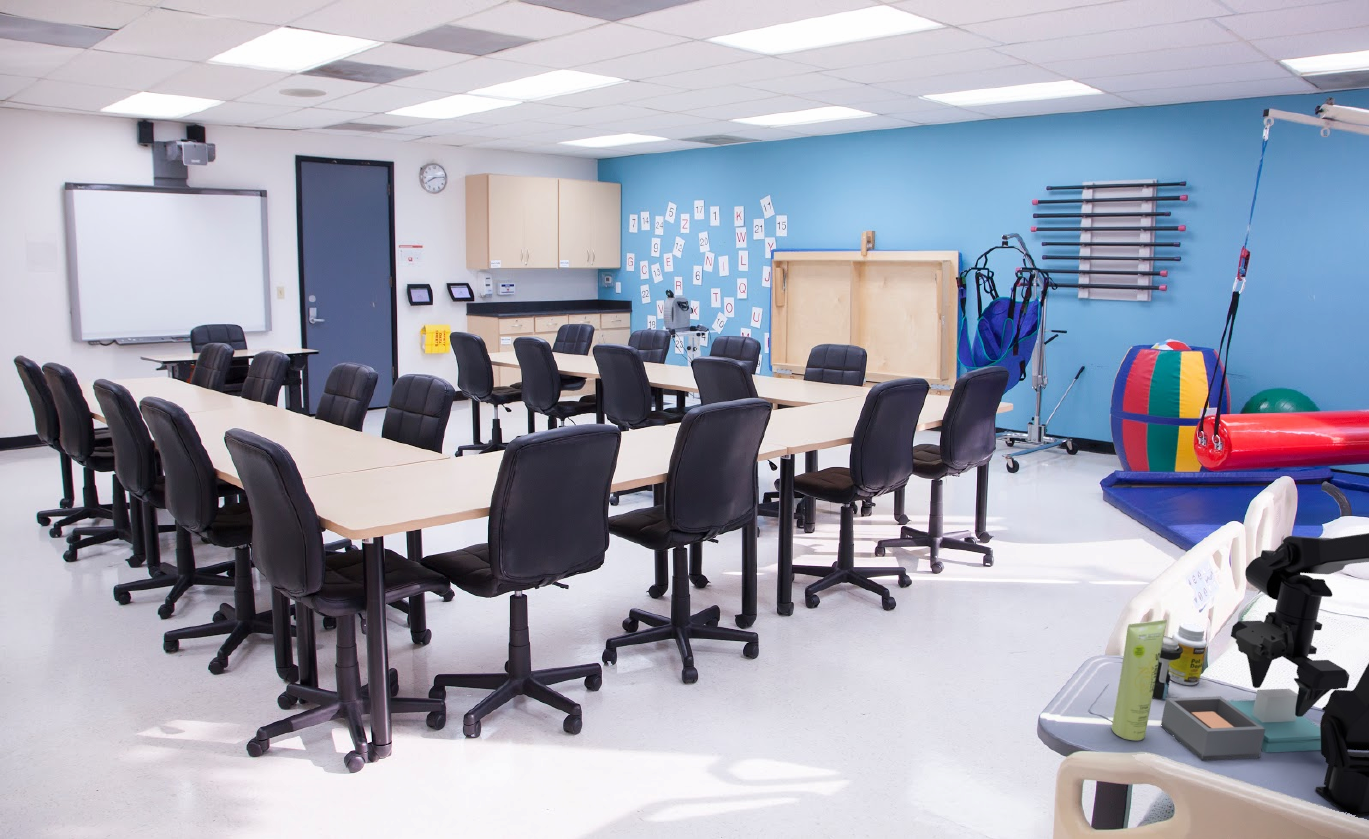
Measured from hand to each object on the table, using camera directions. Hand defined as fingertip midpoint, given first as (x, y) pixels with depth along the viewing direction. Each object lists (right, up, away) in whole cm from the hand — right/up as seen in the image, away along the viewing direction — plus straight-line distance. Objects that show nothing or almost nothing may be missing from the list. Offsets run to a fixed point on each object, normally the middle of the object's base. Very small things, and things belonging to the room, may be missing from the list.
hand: (1276, 701), depth 160 cm
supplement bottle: (-6, -1, +18) cm, 19 cm away
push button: (-14, -2, +13) cm, 19 cm away
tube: (-25, -5, -2) cm, 26 cm away
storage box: (-13, -6, -3) cm, 14 cm away
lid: (0, -5, +1) cm, 5 cm away
